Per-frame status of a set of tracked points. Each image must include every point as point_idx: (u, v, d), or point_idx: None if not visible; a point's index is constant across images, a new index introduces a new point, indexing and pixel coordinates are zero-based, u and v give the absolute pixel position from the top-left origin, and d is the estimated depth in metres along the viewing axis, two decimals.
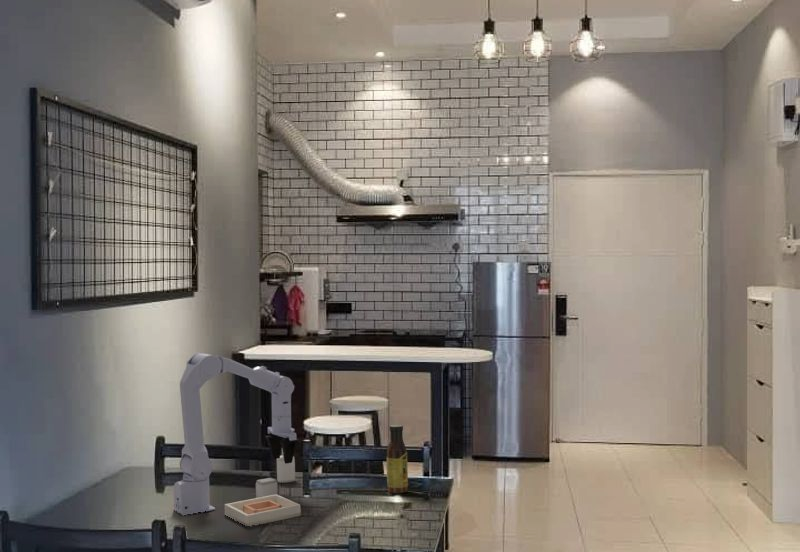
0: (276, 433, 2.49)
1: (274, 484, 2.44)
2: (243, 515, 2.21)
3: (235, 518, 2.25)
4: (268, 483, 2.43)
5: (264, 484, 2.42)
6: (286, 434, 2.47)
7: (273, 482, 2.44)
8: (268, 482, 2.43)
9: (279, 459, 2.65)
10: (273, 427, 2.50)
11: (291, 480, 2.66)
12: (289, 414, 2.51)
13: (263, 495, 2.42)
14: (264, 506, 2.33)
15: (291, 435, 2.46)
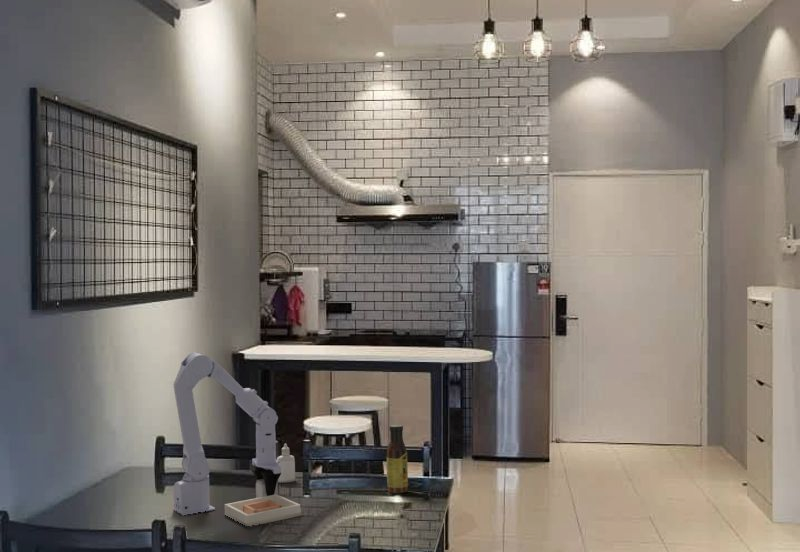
0: (260, 466, 2.42)
1: None
2: (243, 515, 2.21)
3: (235, 518, 2.25)
4: None
5: (264, 484, 2.42)
6: (270, 467, 2.40)
7: None
8: None
9: (279, 459, 2.65)
10: (257, 459, 2.43)
11: (291, 480, 2.66)
12: (273, 446, 2.43)
13: (263, 495, 2.42)
14: (264, 506, 2.33)
15: (275, 468, 2.39)
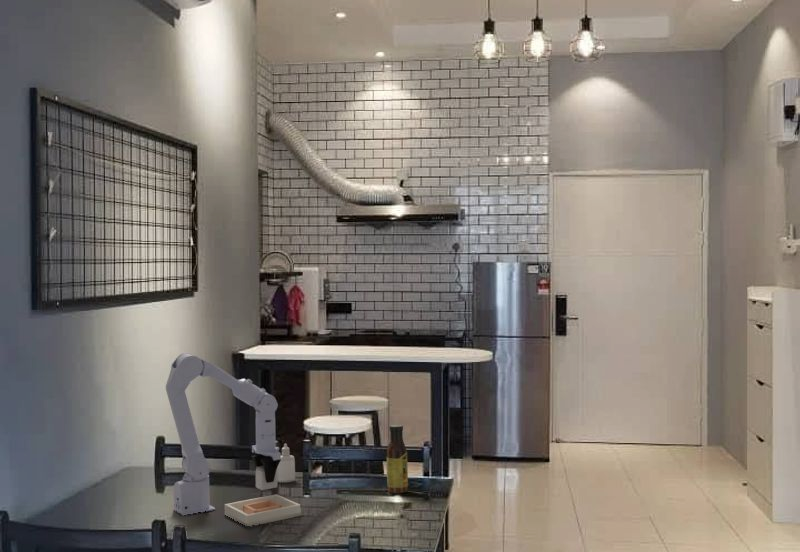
0: (260, 452, 2.42)
1: None
2: (243, 515, 2.21)
3: (235, 518, 2.25)
4: None
5: (264, 471, 2.42)
6: (270, 453, 2.40)
7: None
8: None
9: None
10: (257, 446, 2.43)
11: (291, 480, 2.66)
12: (272, 433, 2.43)
13: (263, 482, 2.42)
14: (264, 506, 2.33)
15: (275, 455, 2.39)
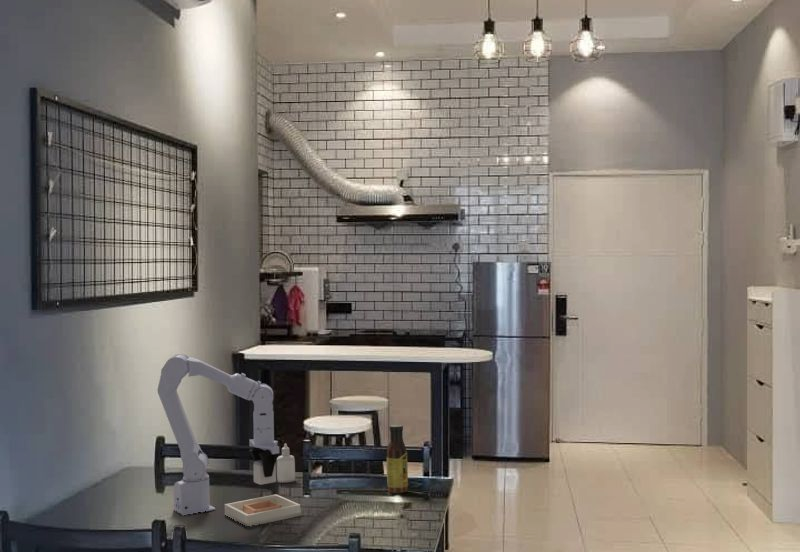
0: (258, 446, 2.36)
1: None
2: (243, 515, 2.21)
3: (235, 518, 2.25)
4: None
5: (262, 465, 2.36)
6: (268, 447, 2.34)
7: None
8: None
9: (279, 459, 2.65)
10: (255, 440, 2.37)
11: (291, 480, 2.66)
12: (268, 427, 2.36)
13: (261, 476, 2.36)
14: (264, 506, 2.33)
15: (274, 448, 2.32)
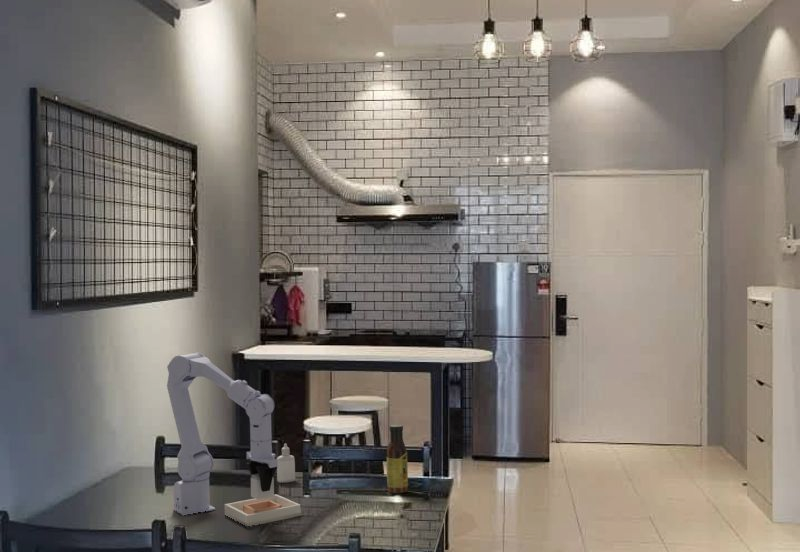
0: (255, 459, 2.27)
1: None
2: (243, 515, 2.21)
3: (235, 518, 2.25)
4: None
5: (259, 479, 2.27)
6: (266, 461, 2.25)
7: None
8: None
9: (279, 459, 2.65)
10: (252, 452, 2.28)
11: (291, 480, 2.66)
12: (261, 439, 2.27)
13: (258, 490, 2.27)
14: (264, 506, 2.33)
15: (271, 462, 2.23)
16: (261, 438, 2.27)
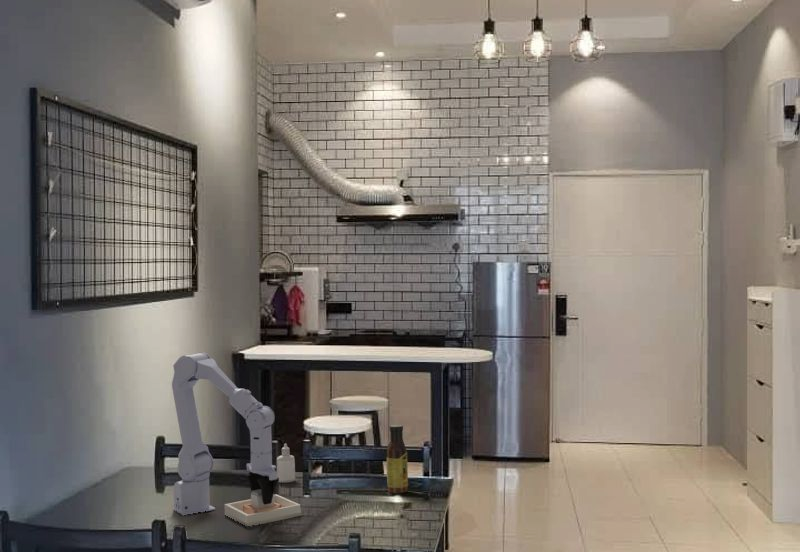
0: (255, 471, 2.27)
1: None
2: (243, 515, 2.21)
3: (235, 518, 2.25)
4: None
5: (260, 495, 2.27)
6: (266, 473, 2.25)
7: None
8: None
9: (279, 459, 2.65)
10: (252, 465, 2.28)
11: (291, 480, 2.66)
12: (261, 452, 2.27)
13: (258, 507, 2.27)
14: None
15: (271, 474, 2.23)
16: (261, 450, 2.27)
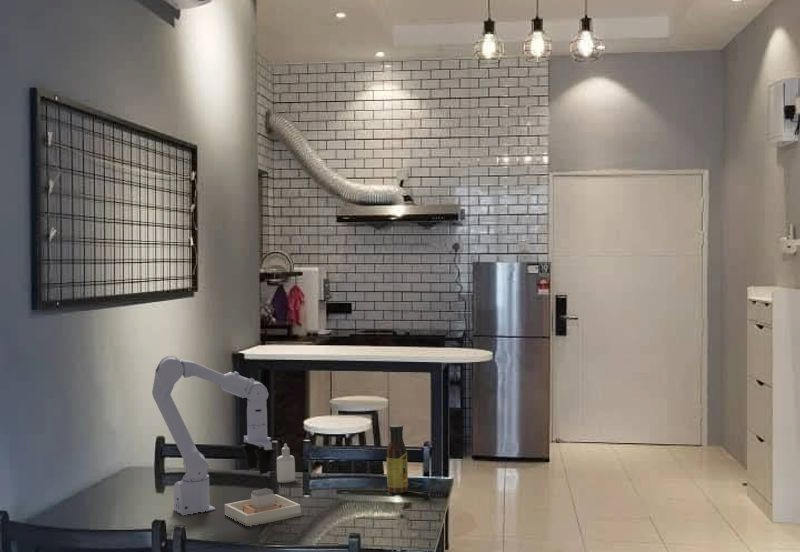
0: (251, 442, 2.39)
1: (270, 495, 2.29)
2: (243, 515, 2.21)
3: (235, 518, 2.25)
4: (264, 494, 2.28)
5: (260, 495, 2.27)
6: (261, 443, 2.37)
7: (269, 493, 2.29)
8: (264, 493, 2.28)
9: (279, 459, 2.65)
10: (248, 436, 2.40)
11: (291, 480, 2.66)
12: (263, 423, 2.40)
13: (258, 507, 2.27)
14: None
15: (266, 444, 2.36)
16: (263, 421, 2.40)
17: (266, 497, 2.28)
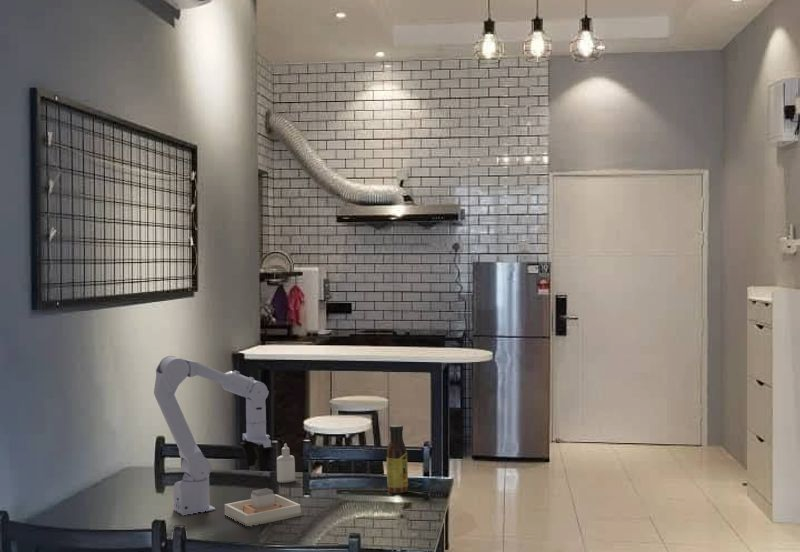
0: (250, 440, 2.42)
1: (270, 495, 2.29)
2: (243, 515, 2.21)
3: (235, 518, 2.25)
4: (264, 494, 2.28)
5: (260, 495, 2.27)
6: (260, 441, 2.40)
7: (269, 493, 2.29)
8: (264, 493, 2.28)
9: (279, 459, 2.65)
10: (247, 433, 2.44)
11: (291, 480, 2.66)
12: (263, 420, 2.44)
13: (258, 507, 2.27)
14: None
15: (265, 442, 2.39)
16: (263, 419, 2.44)
17: (266, 497, 2.28)
